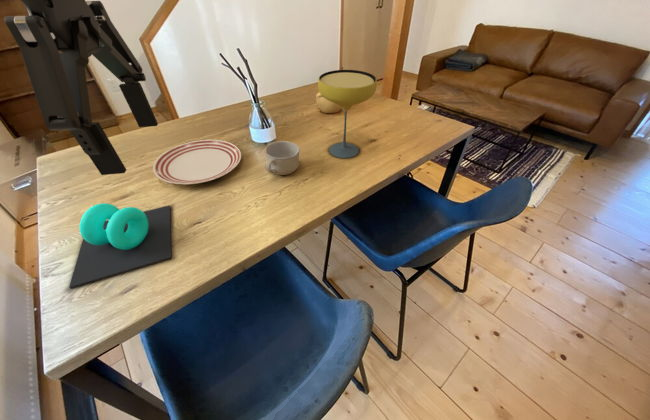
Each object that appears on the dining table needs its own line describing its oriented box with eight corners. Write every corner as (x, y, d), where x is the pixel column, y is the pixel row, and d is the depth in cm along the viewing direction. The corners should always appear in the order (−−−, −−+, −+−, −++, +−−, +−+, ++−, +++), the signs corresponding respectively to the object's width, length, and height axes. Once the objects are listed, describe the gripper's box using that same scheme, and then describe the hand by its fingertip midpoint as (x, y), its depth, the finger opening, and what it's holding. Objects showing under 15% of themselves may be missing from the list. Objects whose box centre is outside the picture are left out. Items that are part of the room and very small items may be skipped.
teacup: (283, 157, 97) (280, 137, 92) (307, 167, 92) (306, 146, 87) (254, 176, 89) (249, 154, 83) (279, 188, 84) (275, 166, 79)
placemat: (70, 288, 59) (68, 287, 58) (88, 227, 72) (87, 225, 72) (171, 258, 64) (170, 257, 64) (170, 206, 78) (169, 205, 78)
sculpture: (322, 104, 133) (322, 80, 126) (346, 108, 129) (347, 84, 122) (312, 113, 125) (311, 88, 118) (337, 117, 122) (337, 92, 114)
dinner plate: (238, 141, 106) (236, 133, 104) (247, 181, 87) (244, 173, 84) (161, 153, 100) (157, 145, 97) (152, 199, 80) (147, 190, 78)
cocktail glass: (377, 147, 102) (387, 75, 85) (351, 170, 91) (357, 92, 74) (337, 134, 110) (339, 66, 93) (309, 153, 99) (305, 80, 82)
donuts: (123, 223, 72) (102, 194, 66) (157, 228, 71) (139, 199, 64) (92, 252, 65) (65, 223, 58) (129, 259, 64) (106, 229, 57)
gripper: (-38, -65, 17) (128, 197, 31) (121, -52, 35) (180, 110, 50) (-180, -66, 16) (57, 204, 31) (58, -52, 35) (136, 113, 49)
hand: (133, 146), depth 40 cm, fingers open, 13 cm apart
